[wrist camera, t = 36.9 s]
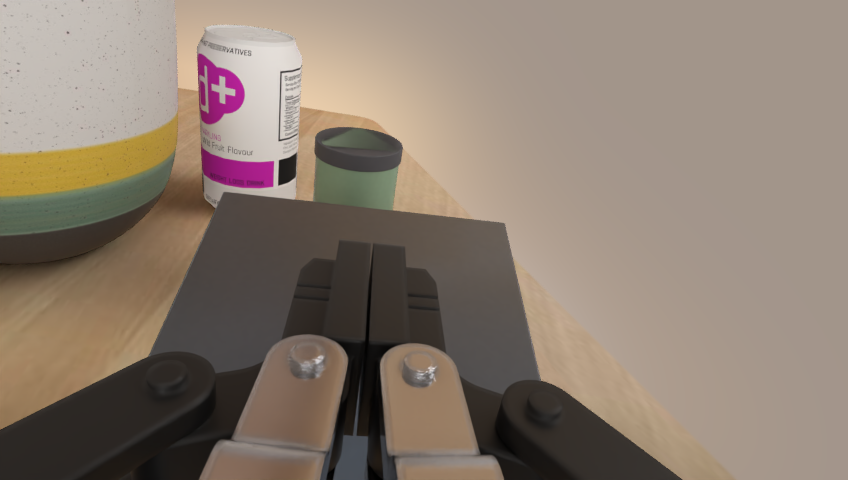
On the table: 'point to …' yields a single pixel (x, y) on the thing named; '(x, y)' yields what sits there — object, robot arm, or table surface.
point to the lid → (424, 247)
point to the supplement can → (248, 111)
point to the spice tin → (356, 167)
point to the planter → (83, 121)
